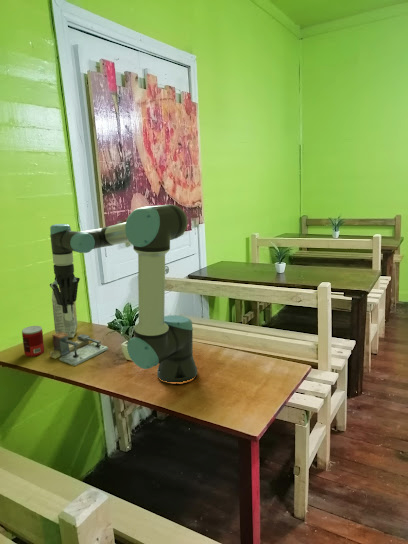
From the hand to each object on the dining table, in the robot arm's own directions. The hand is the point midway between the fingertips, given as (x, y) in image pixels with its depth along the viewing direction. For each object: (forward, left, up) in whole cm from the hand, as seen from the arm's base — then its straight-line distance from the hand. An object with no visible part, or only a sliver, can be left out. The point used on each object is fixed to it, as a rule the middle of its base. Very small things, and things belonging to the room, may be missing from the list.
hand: (68, 319), depth 164 cm
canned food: (+16, +7, -16) cm, 24 cm away
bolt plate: (-3, -4, -16) cm, 17 cm away
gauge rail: (+1, -4, -16) cm, 17 cm away
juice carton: (+20, -13, -16) cm, 29 cm away
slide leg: (+2, +1, -16) cm, 16 cm away
